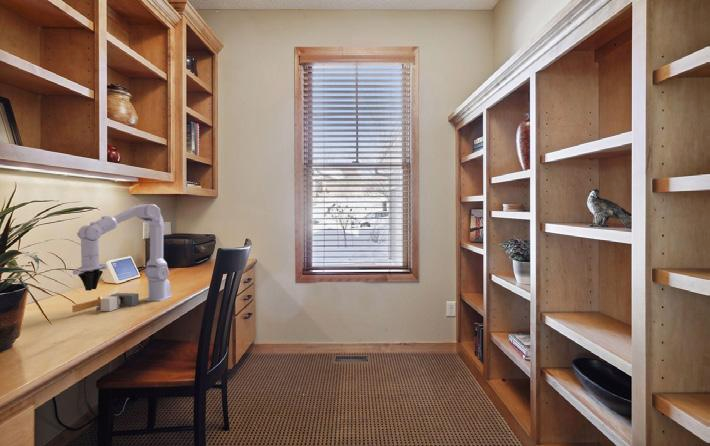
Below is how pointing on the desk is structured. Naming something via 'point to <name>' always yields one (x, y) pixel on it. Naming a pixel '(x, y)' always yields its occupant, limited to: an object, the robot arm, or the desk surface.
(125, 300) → the socket block
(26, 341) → the desk surface
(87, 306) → the orange long bar
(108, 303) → the plug
